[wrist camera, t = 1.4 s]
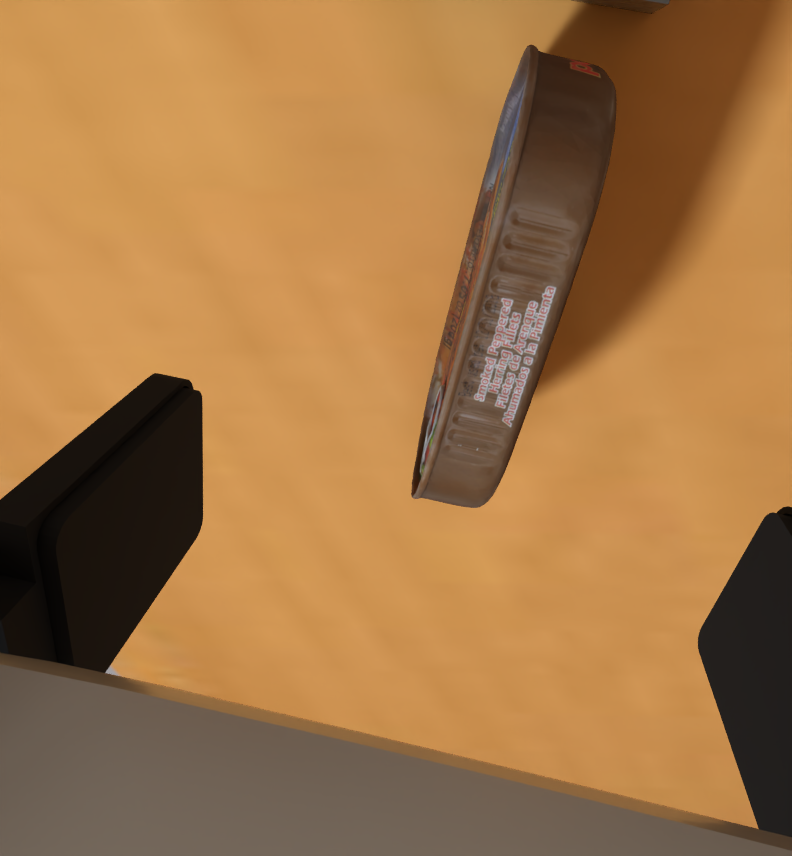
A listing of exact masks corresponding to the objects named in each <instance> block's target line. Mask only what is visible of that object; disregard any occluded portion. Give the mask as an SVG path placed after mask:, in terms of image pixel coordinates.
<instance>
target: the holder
mask: <svg viewBox="0 0 792 856" xmlns="http://www.w3.org/2000/svg"><path fill="white" fill-rule="evenodd" d="M573 1H579V2H585V3H591V4H597V5H603V6H609V7H615V8H621V9H627V10H633V11H639V12H645V13H651V14H652V13H654V12H656V11H657V10H659V9H661V8H663V7H664V6H666V5H668V4H669V1H670V0H573Z"/></svg>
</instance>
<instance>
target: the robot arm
mask: <svg viewBox="0 0 792 856" xmlns="http://www.w3.org/2000/svg"><path fill="white" fill-rule="evenodd" d="M202 521H203V437H202V395H201V393H200V391H197V390H193V386H192V383H191V382H190V381H189V380H187V379H182V378H177V377H172V376H168V375H163V374H158V373H154V374H153V375H151V376H150V377H148V378H147V379H146V380H145V381H144V382H142V383H141V384H140V385H139V386H137V387H136V388H135V389H134V390H133V391H131V392H130V393H129V394H128V395H127V396H125V397H124V398H123V399H122V400H120V401H119V402H118V403H117V404H116V405H114V406H113V407H112V408H111V409H110V410H108V411H107V412H106V413H105V414H104V415H102V416H101V417H100V418H99V419H97V420H96V421H95V422H94V423H93V424H91V425H90V426H89V427H88V428H87V429H85V430H84V431H83V432H82V433H81V434H79V435H78V436H77V437H76V438H74V439H73V440H72V441H71V442H70V443H68V444H67V445H66V446H65V447H64V448H62V449H61V450H60V451H59V452H58V453H56V454H55V455H54V456H53V457H51V458H50V459H49V460H48V461H47V462H45V463H44V464H43V465H42V466H41V467H39V468H38V469H37V470H36V471H34V472H33V473H32V474H31V475H30V476H28V477H27V478H26V479H25V480H24V481H22V482H21V483H20V484H19V485H18V486H16V487H15V488H14V489H13V490H11V491H10V492H9V493H8V494H7V495H5V496H4V497H3V498H2V499H1V500H0V856H792V507H783V508H782V509H780V510H779V511H778V512H777V513H769V514H768V515H767V516H766V517H765V518H764V519H763V521H762V523H761V524H760V526H759V528H758V530H757V531H756V533H755V535H754V537H753V538H752V540H751V542H750V544H749V545H748V547H747V549H746V551H745V552H744V554H743V556H742V558H741V559H740V561H739V563H738V565H737V566H736V568H735V570H734V572H733V573H732V575H731V577H730V579H729V580H728V582H727V584H726V586H725V587H724V589H723V591H722V592H721V594H720V596H719V598H718V599H717V601H716V603H715V605H714V606H713V608H712V610H711V612H710V613H709V615H708V617H707V619H706V620H705V622H704V624H703V626H702V628H701V630H700V633H699V637H698V649H699V653H700V656H701V659H702V662H703V665H704V668H705V671H706V674H707V677H708V680H709V683H710V686H711V689H712V692H713V695H714V698H715V700H716V703H717V706H718V709H719V712H720V715H721V718H722V721H723V724H724V727H725V730H726V733H727V736H728V739H729V742H730V745H731V748H732V751H733V754H734V757H735V760H736V763H737V766H738V769H739V771H740V774H741V777H742V780H743V783H744V786H745V789H746V792H747V795H748V798H749V801H750V804H751V807H752V810H753V813H754V816H755V819H756V822H757V825H758V828H759V829H756V828H752V827H748V826H744V825H740V824H736V823H731V822H727V821H723V820H719V819H715V818H711V817H707V816H703V815H699V814H695V813H691V812H687V811H683V810H679V809H675V808H671V807H667V806H663V805H659V804H655V803H651V802H647V801H643V800H638V799H634V798H630V797H626V796H622V795H618V794H614V793H610V792H606V791H602V790H598V789H594V788H590V787H586V786H582V785H577V784H573V783H569V782H565V781H561V780H557V779H553V778H549V777H544V776H540V775H536V774H532V773H528V772H524V771H520V770H516V769H511V768H507V767H503V766H499V765H495V764H491V763H487V762H483V761H478V760H474V759H470V758H466V757H462V756H458V755H453V754H449V753H445V752H441V751H437V750H433V749H429V748H424V747H420V746H416V745H412V744H408V743H404V742H399V741H395V740H391V739H387V738H383V737H379V736H374V735H370V734H366V733H362V732H358V731H354V730H349V729H345V728H341V727H337V726H332V725H328V724H324V723H320V722H315V721H311V720H307V719H303V718H298V717H294V716H290V715H286V714H281V713H277V712H273V711H269V710H264V709H260V708H256V707H252V706H247V705H243V704H239V703H235V702H230V701H226V700H222V699H218V698H214V697H209V696H205V695H201V694H197V693H192V692H188V691H184V690H180V689H175V688H171V687H166V686H162V685H157V684H153V683H148V682H143V681H139V680H134V679H130V678H125V677H120V676H116V675H111V674H107V673H105V672H106V670H107V669H108V668H109V666H110V665H111V663H112V662H113V660H114V659H115V657H116V656H117V654H118V653H119V651H120V650H121V648H122V647H123V646H124V644H125V643H126V641H127V640H128V638H129V637H130V635H131V634H132V632H133V631H134V629H135V628H136V626H137V625H138V623H139V622H140V620H141V619H142V618H143V616H144V615H145V613H146V612H147V610H148V609H149V607H150V606H151V604H152V603H153V601H154V600H155V598H156V597H157V595H158V594H159V593H160V591H161V590H162V588H163V587H164V585H165V584H166V582H167V581H168V579H169V578H170V576H171V575H172V573H173V572H174V570H175V569H176V567H177V566H178V565H179V563H180V562H181V560H182V559H183V557H184V556H185V554H186V553H187V551H188V550H189V548H190V547H191V545H192V544H193V542H194V541H195V540H196V538H197V536H198V534H199V532H200V529H201V526H202Z"/></svg>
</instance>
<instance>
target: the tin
mask: <svg viewBox="0 0 792 856" xmlns="http://www.w3.org/2000/svg"><path fill="white" fill-rule="evenodd" d="M615 121H616V90H615V87H614V84H613V82H612V81H611V79H610V78H609V76H608V75H607V73H606V72H605V71H604V70H603V69H602V68H600V67H598V66H595V65H592V64H589V63H586V62H581V61H577V60H572V59H567V58H563V57H558V56H554V55H550V54H546V53H543V52H540V51H538V49H537V48H536V47H535V46H534V45H529V46H527V48H526V49H525V51H524V53H523V56H522V58H521V61H520V63H519V66H518V69H517V72H516V74H515V77H514V79H513V82H512V85H511V87H510V90H509V93H508V95H507V98H506V101H505V104H504V107H503V110H502V113H501V116H500V120H499V123H498V127H497V131H496V134H495V138H494V141H493V145H492V149H491V154H490V158H489V161H488V164H487V168H486V171H485V175H484V178H483V182H482V186H481V190H480V193H479V197H478V202H477V205H476V209H475V213H474V216H473V220H472V224H471V228H470V232H469V236H468V240H467V243H466V248H465V251H464V255H463V259H462V262H461V267H460V271H459V274H458V278H457V281H456V285H455V289H454V293H453V297H452V301H451V304H450V308H449V312H448V316H447V319H446V323H445V327H444V331H443V335H442V339H441V343H440V347H439V351H438V355H437V358H436V363H435V368H434V373H433V376H432V380H431V384H430V388H429V393H428V397H427V402H426V407H425V411H424V417H423V422H422V426H421V433H420V438H419V444H418V450H417V457H416V462H415V467H414V473H413V480H412V493H411V495H412V498H414V499H418V498H425V499H430V500H435V501H439V502H443V503H448V504H452V505H457V506H463V507H470V508H477V507H481V506H482V505H484V504H485V503H486V502H488V501H489V499H490V498H491V497H492V496H493V494H494V492H495V490H496V489H497V487H498V485H499V483H500V481H501V479H502V477H503V474H504V472H505V470H506V467H507V465H508V462H509V460H510V457H511V455H512V452H513V449H514V446H515V444H516V441H517V438H518V435H519V433H520V430H521V427H522V425H523V422H524V419H525V416H526V414H527V411H528V408H529V406H530V403H531V400H532V397H533V394H534V392H535V389H536V386H537V383H538V381H539V378H540V375H541V372H542V369H543V367H544V364H545V361H546V358H547V355H548V352H549V349H550V346H551V343H552V341H553V338H554V335H555V333H556V330H557V327H558V324H559V321H560V318H561V315H562V312H563V309H564V306H565V303H566V300H567V297H568V295H569V292H570V290H571V287H572V283H573V280H574V277H575V274H576V272H577V269H578V266H579V263H580V260H581V257H582V254H583V251H584V248H585V245H586V242H587V239H588V237H589V234H590V230H591V227H592V224H593V221H594V217H595V214H596V211H597V207H598V204H599V200H600V196H601V193H602V189H603V185H604V181H605V177H606V173H607V169H608V165H609V160H610V155H611V149H612V143H613V138H614V132H615Z"/></svg>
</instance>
